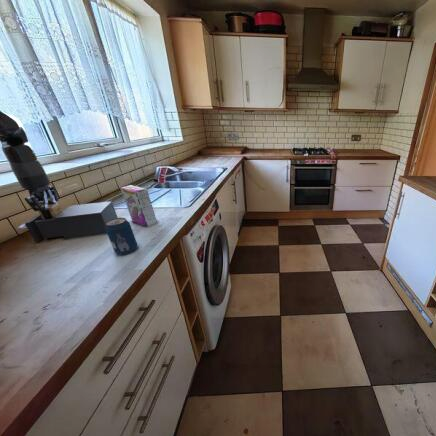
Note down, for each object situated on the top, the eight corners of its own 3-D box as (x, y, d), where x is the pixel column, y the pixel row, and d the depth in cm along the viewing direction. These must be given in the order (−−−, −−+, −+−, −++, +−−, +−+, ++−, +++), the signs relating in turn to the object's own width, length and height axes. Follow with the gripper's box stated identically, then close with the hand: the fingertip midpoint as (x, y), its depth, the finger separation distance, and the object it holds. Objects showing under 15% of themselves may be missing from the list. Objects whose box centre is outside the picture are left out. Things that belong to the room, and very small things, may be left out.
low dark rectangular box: (65, 239, 89) (53, 218, 85) (80, 225, 100) (70, 205, 95) (109, 233, 93) (100, 212, 89) (119, 220, 104) (111, 201, 99)
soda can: (131, 243, 86) (120, 215, 81) (142, 248, 83) (132, 219, 78) (111, 253, 81) (98, 223, 75) (122, 258, 78) (110, 227, 72)
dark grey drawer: (19, 243, 85) (8, 225, 81) (38, 229, 95) (28, 212, 91) (78, 235, 90) (69, 217, 87) (90, 222, 100) (83, 206, 96)
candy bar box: (131, 222, 102) (119, 187, 95) (142, 218, 106) (131, 184, 99) (147, 227, 97) (135, 191, 90) (158, 223, 101) (147, 188, 94)
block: (42, 219, 87) (36, 209, 85) (49, 215, 91) (44, 204, 89) (57, 218, 88) (51, 207, 86) (63, 213, 92) (58, 203, 90)
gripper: (30, 169, 87) (51, 210, 94) (1, 180, 75) (28, 225, 82) (54, 168, 89) (73, 208, 97) (30, 177, 77) (54, 222, 84)
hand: (52, 215), depth 89 cm, fingers closed on block, 4 cm apart
